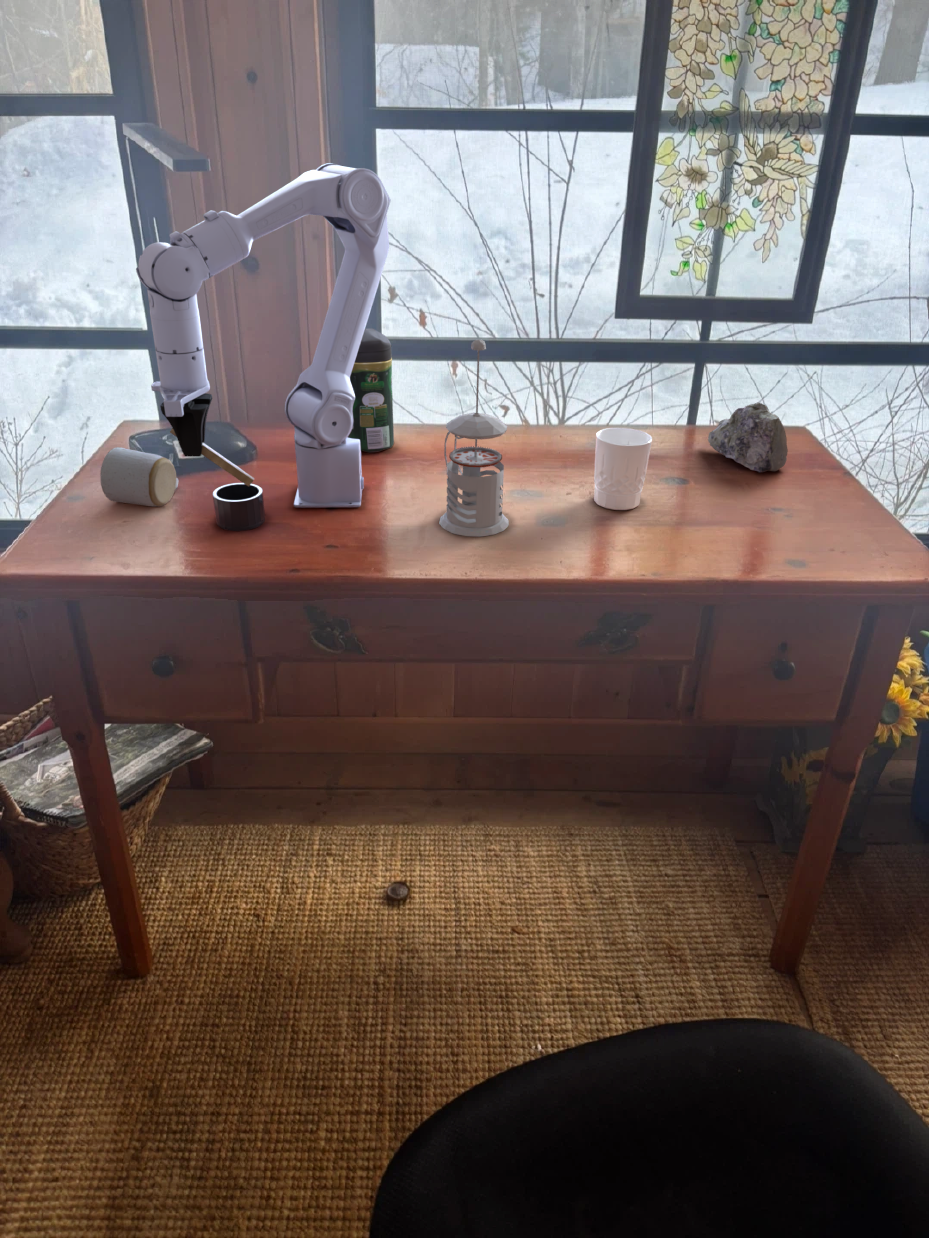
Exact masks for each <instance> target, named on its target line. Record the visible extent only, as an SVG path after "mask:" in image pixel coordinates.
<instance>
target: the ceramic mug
mask: <svg viewBox="0 0 929 1238" xmlns="http://www.w3.org/2000/svg"><path fill="white" fill-rule="evenodd" d="M99 475H100V476H99V477H100V487H101V489H102V492H103V494H104V496H105V497H106V498H107V499H108V500H109V501H112V502H116V503H123V504H131V505H139V506H140V505H141V506H145V507H162V506H165V505H166V504H167V503H169V501H170V500H171V499H172V498H173V496H174V493H175V491H176V490H177V489H178V488H179V487H178V486H179V478H178V477H177V471H176V468H175V465H174V464H173V463H172V461H171V460H170V459H169V458H166V457H164V456H161V455H159V454H156V453H150V452H144V451H139V450H134V449H129V448H125V447H121V446H117V447H114V448H112V449H110V450H109V451H108V452H107V453H106V454H105V457H103V460H102V463H101V467H100V474H99Z"/></svg>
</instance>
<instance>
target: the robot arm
mask: <svg viewBox="0 0 929 1238" xmlns="http://www.w3.org/2000/svg"><path fill="white" fill-rule="evenodd" d="M391 202H392V201H391V197H390V196H389V193H388V191H387V189H386V187H385V185H384V183H383V181H382V179H381V178H380V176H379V175H378V174H377V173H375V172H374V171H373V170H371V169H369V168H365V167H360V168H359V167H357V168H356V167H349V166H342V165H341V164H337V163H334V162H328V163H323V164H321V165H320V166H318V167H317V168H316V169H311V170H308V171H305V172H303V173H302V174H301V175H299V176H298V177H296V178H295V179H293V180H292V181H290V182H289V183H287V184H285V185H284V186H282V187H281V188H279V189H278V190H276V191H274V192H273V193H271V194H269V195H267V196H266V197H265V198H263V199H261V200H260V201H258V202H257V203H255V204H253V205H252V206H250V207H248V208H246V209H245V210H244V211H242V212H240V213H239V214H237V215H235V214H233V213H232V212H229V211H226V210H221V211H219V212H217V211H215V210H212V209H211V210H209V211H206V212H205V213H203V215H202V217H203V219H204V220H202V221H201V222H199V223H197V224H194V225H193V226H191V227H190V228H188V229H185V230H184V231H182V232H181V233H180V232H179V231H176V230H175V231H173V232H170V234H169V238H170V240H169V243H168V242H162V241H157V242H153V243H151V244H148V245H147V246H146V247H145V248H144V249H143V250H142V254H140V255H139V259H138V263H137V265H138V266H137V267H136V268H135V271H136V275H137V277H138V279H139V281H140V282H141V283H142V285H143V286H144V287H145V288H146V292H147V299H148V304H149V316H150V323H151V330H152V334H153V336H152V337H153V343H154V349H155V350H154V351H155V357H156V362H157V368H158V369H157V370H158V375H159V381H154V382H152V383H151V384H150V387H151V389H150V390H151V391H152V392H160V395H161V397H162V398H163V401H162V403H161V404H160V405H159V406H160V412H161V413H162V415H163V416H164V417H165V419H166V420H167V421H168V423H169V424H170V426H171V429H172V428H173V430H174V432H175V434H176V436H175V437H176V440H177V442H178V444H179V447H180V449H181V452H182V454H183V456H184V457H186V458H187V457H189V458H190V457H193V458H194V457H195V458H199V457H201V456H202V454H201V453H202V442H203V443H204V444H205V442H206V440H205V439H206V426H207V418H208V415H209V414H208V413H209V409H210V407H211V403H212V401H213V395H212V394H211V393H208V392H209V391H210V389H211V385H210V381H209V380H208V374H207V364H206V355H205V349H204V343H203V341H204V340H203V333H202V326H201V324H202V323H201V318H200V310H199V305H198V296H197V294H198V293H199V291H200V289H201V287H202V284H203V282H205V281H207V280H209V279H211V278H212V277H214V276H216V275H217V274H220V273H221V272H223V271H225V270H227V269H228V268H230V267H232V266H234V265H236V264H237V263H239V262H241V261H242V260H243V259H246V258H248V256H249V255H250V253H251V248H252V245H253V242H254V241H256V240H258V239H260V238H262V237H264V236H267V235H269V234H270V233H272V232H274V231H277V230H278V229H281V228H283V227H285V226H287V225H288V224H291V223H293V222H295V221H296V220H299V219H301V218H303V217H305V216H309V215H312V216H320V217H321V216H322V217H323V218H324V220H326V221H327V223H329V224H330V225H331V226H332V227H333V229H334V230H335V232H336V234H337V236H338V238H339V240H340V241H341V244H342V246H343V248H344V252H343V253H344V254H343V257H342V260H341V264H340V268H339V270H338V274H337V277H336V281H335V284H334V288H333V291H332V295H331V298H330V302H329V304H328V307H327V312H326V315H325V318H324V322H323V325H322V327H321V331H320V335H319V338H318V342H317V345H316V348H315V352H314V354H313V359H312V361H311V364H310V365H309V366H308V367H307V368H305V370H303V371H302V372H301V373H300V374H299V377H298V379H297V382H296V385H295V386H294V388H292V390H291V391H290V392H289V393H288V395H287V397H286V399H285V402H284V414H285V417H286V419H287V420H288V422H289V424H291V425H292V426H293V428H294V433H293V440H294V452H295V464H296V478H297V490H296V493H295V496H294V501H293V507H294V508H297V509H299V508H300V509H301V508H303V509H305V508H315V509H316V508H317V509H318V508H360V507H361V506H362V496H363V490H364V489H365V479H364V476H363V471H362V451H361V446H360V440H359V439H352V438H348V436H349V434H350V432H351V430H352V427H353V412H352V410H353V404H354V400H355V394H354V391H353V388H352V385H351V382H350V375H351V372H352V369H353V366H354V362H355V359H356V356H357V353H358V349H359V346H360V343H361V340H362V336H363V333H364V330H365V329H366V326H367V323H368V320H369V317H370V313H371V310H372V306H373V305H374V301H375V297H376V293H377V291H378V288H379V284H380V282H381V278H382V275H383V271H384V268H385V265H386V261H387V258H388V255H389V249H390V237H389V226H388V225H389V224H388V212H389V208H390V205H391Z"/></svg>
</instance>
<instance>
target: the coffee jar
mask: <svg viewBox="0 0 929 1238" xmlns="http://www.w3.org/2000/svg"><path fill="white" fill-rule="evenodd" d="M350 382H351V385H352V388H353V391H354V394H355V400H354V404H353V410H352V412H353V427H352V430H351V432H350V434H349V436H348V438H352V439H359V440H360V446H361V452H365V453H380V452H381V451H386V450H390V449H391V448H393V446H394V444H395V430H394V429H395V428H394V401H393V353H392V343H391V342H390V339H389V338H388V337H387V336H386V335H385V334H384V333H382V332H380V331H378V330H377V329H375V328H365V330H364V333H363V336H362V340H361V343H360V346H359V349H358V353H357V356H356V359H355V362H354V366H353V369H352V372H351V375H350Z"/></svg>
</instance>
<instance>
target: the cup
mask: <svg viewBox="0 0 929 1238" xmlns="http://www.w3.org/2000/svg"><path fill="white" fill-rule="evenodd" d="M212 501H213V509H214V517H215V518H214V519H215V524H216V525H217V527H218V528H220V529H222V530H225V531H230V532H244V531H250V530H253V529H254V530H255V529H258V528H259V527H261V526H262V525H264V523H265V522H266V509H265V499H264V490H263V488H262V487H260V485H257V484H254V483H251V484H250V486H247V485H246V484H244V483H243V482H233V483H228V484H224V485H220V486H219V487H217V488H215V489H214V490H213V492H212Z"/></svg>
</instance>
